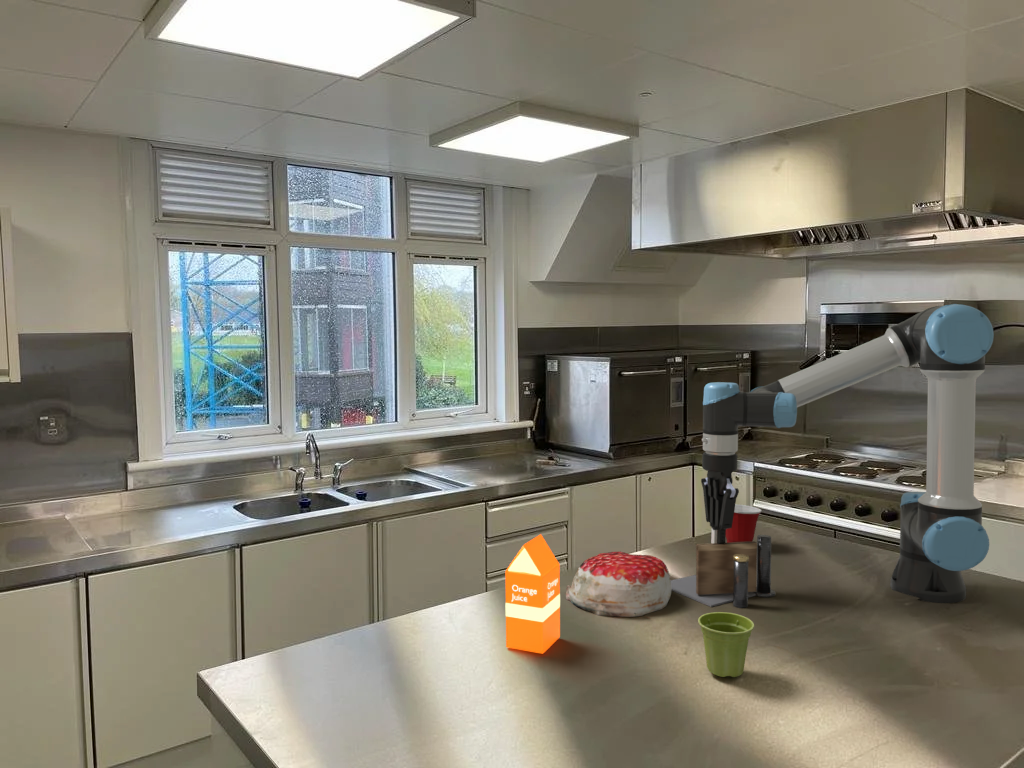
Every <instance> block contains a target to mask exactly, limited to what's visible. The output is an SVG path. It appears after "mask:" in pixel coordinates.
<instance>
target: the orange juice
mask: <svg viewBox="0 0 1024 768" xmlns="http://www.w3.org/2000/svg"><path fill="white" fill-rule="evenodd" d="M560 568H561V565H560V562H559V561H558V560H557V558H556V557H555V554H554V553H553V552H552V549H551V548H550V546H549V545H548V543H547V541H546V540H545V538H544V536H543V535H542V533H540V534H539V535H537V536H535V537H534V538H532V539H530V540H529V541H527V542H526V543H524V544H523V545H522V546H521V548H520V549H519V551H518V552H517V554H516V555H515V556H514V558H513V559H512V560H511V562H510V563H509V566H508V567H507V568H506V570H505V572H504V575H505V607H504V608H505V609H504V610H505V648H508V649H513V650H514V649H515V650H520V651H526V652H531V653H536V654H544V653H546V652H547V650H548V649H550V648H551V646H553V644H555V642H557V640H559V639H560V637H561V587H560V585H561V583H560V582H561V580H560V579H561V578H560V576H561V575H560V572H561V569H560Z"/></svg>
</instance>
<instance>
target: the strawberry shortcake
mask: <svg viewBox="0 0 1024 768" xmlns="http://www.w3.org/2000/svg"><path fill="white" fill-rule="evenodd" d="M670 580H671V577H670V573H669V569H668V566H667V565H666V564H665V562H664V561H663V560H662V559H661V558H658V557H656V556H655V555H654V556H653V555H649V554H629V553H628V552H627V553H626V552H623V551H609V552H603V553H598V554H596V555H594V556H591V557H588V558H587V559H585V560H584V561H583V562H582V563H581V564H580V565H579V567H578V568H577V570H576V572H575V574H574V577H573V578H572V582H571V585H569V584H568V585H566V592H565V600H567V601H569V602H570V603H571V604H572V605H573V606H576V607H577V608H580V609H581V610H585V611H587V612H589V613H591V614H594V615H597V616H609V617H623V618H625V617H627V618H629V617H631V618H632V617H633V618H634V617H635V618H636V617H642V616H644V615H646V614H650V613H653V612H656V611H660V610H663V609H664V608H665V607H667V605H668V602H669V600H670V599H671V595H672V588H671V581H670Z"/></svg>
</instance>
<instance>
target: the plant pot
mask: <svg viewBox="0 0 1024 768" xmlns="http://www.w3.org/2000/svg"><path fill="white" fill-rule="evenodd" d="M697 621H698V622H697V623H698V625H699V626H700V631H701V633H702V637H703V645H704V646H703V647H704V653H705V660H706V661H705V662H706V668H707V670H708V671H709V672H710V673H711V674H712V675H715V676H718V677H722V678H726V677H732V678H737V677H739V676H741V675H743V673H744V670H745V663H746V657H747V651H748V645H749V638H750V637H751V634H752V631H753V630H754V628H755V624H754V621H752V620H751V619H750V618H749V617H746V616H744V615H741V614H738V613H733V612H725V611H724V612H723V611H722V612H721V611H714V612H713V611H712V612H707V613H704V614H702V615H700V616H699V617H698V619H697Z"/></svg>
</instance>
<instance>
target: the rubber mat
mask: <svg viewBox="0 0 1024 768" xmlns="http://www.w3.org/2000/svg"><path fill="white" fill-rule="evenodd" d="M670 581H671V588H672V590H671V592H674V593H677V594H679V595H682V596H683V597H686V598H689V599H691V600H693V601H696V602H698V603H700V604H703V605H706V606H708V607H710V608H712V607H716V606H720V605H724V604H728V603H732V602H733V593H721V594H704V595H698V594H697V593H696V574H694V575H689V576H684V577H679V578H675V579H670ZM756 588H757V586H756ZM755 596H756V594H755V593H753V592H748V598H752V597H755ZM756 597H757V596H756Z"/></svg>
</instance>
